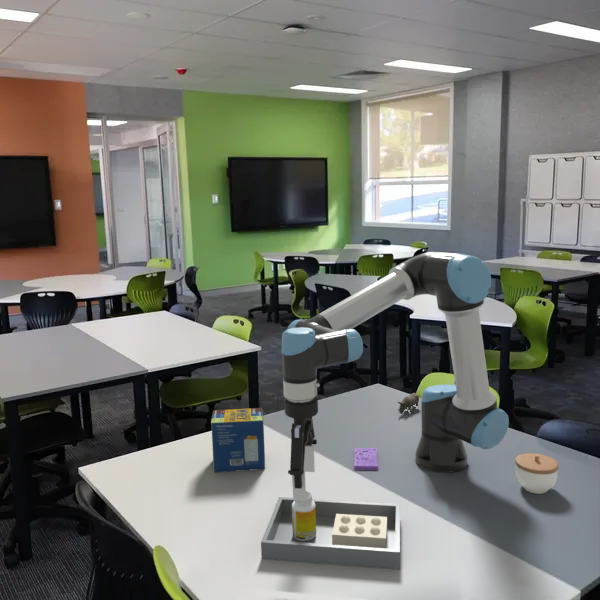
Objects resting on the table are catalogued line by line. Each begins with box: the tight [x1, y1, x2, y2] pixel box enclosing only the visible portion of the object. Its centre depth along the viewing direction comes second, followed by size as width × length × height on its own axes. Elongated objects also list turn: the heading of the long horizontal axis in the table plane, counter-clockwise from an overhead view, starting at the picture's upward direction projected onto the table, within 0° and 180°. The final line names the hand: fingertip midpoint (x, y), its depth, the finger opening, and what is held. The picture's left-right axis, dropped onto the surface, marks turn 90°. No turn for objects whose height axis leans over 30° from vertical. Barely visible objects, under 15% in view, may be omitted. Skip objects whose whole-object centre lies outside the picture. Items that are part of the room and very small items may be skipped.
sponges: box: [353, 447, 379, 471], centre depth 182 cm, size 7×13×2 cm, turn 174°
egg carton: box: [332, 514, 387, 548], centre depth 138 cm, size 12×9×5 cm
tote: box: [260, 496, 401, 571], centre depth 139 cm, size 30×20×5 cm, turn 80°
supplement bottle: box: [292, 491, 316, 541], centre depth 140 cm, size 6×6×10 cm
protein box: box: [210, 407, 266, 473], centre depth 181 cm, size 10×15×16 cm
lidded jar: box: [514, 452, 559, 495], centre depth 161 cm, size 11×11×9 cm
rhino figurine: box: [397, 392, 420, 414], centre depth 221 cm, size 4×14×6 cm, turn 139°
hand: (304, 484), depth 139 cm, fingers open, 13 cm apart
